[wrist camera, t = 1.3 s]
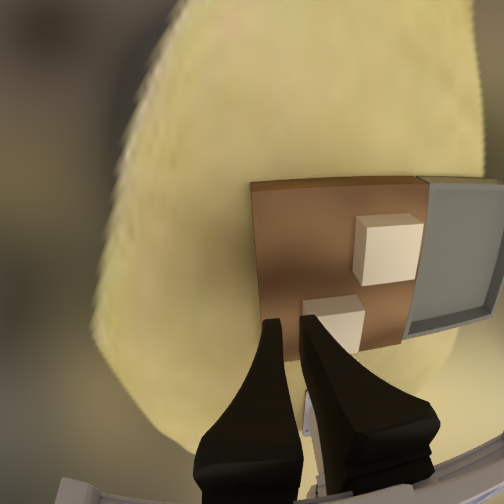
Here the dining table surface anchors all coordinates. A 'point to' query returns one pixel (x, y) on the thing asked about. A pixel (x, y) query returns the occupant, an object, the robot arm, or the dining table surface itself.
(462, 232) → the tray
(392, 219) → the tile
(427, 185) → the plate
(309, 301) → the tile
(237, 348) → the dining table surface
